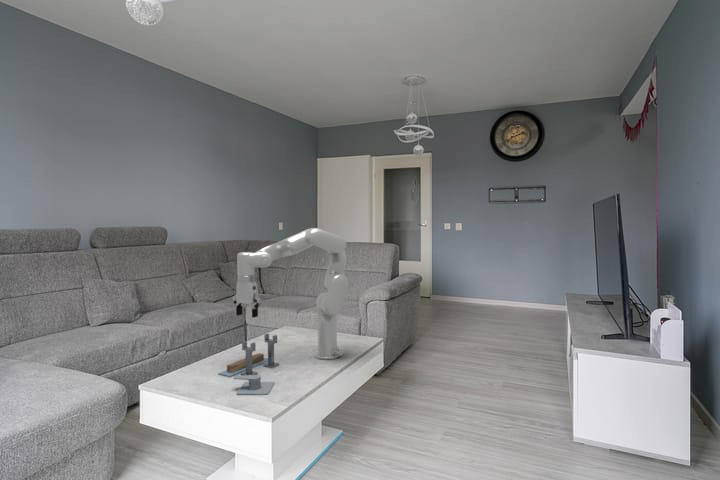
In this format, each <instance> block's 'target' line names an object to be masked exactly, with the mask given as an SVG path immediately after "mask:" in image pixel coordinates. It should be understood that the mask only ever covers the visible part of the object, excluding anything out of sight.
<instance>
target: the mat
mask: <svg viewBox="0 0 720 480" xmlns="http://www.w3.org/2000/svg"><path fill="white" fill-rule="evenodd" d="M266 363H268V357H267V358H266V357H264V360H263V361H261V362H258V363H256V364H253V365H252V369H254V368H256V367H258V366H261V365H263V364H266ZM244 372H246V368H243V369H241V370H238V371H236V372H234V373H229V372H227V369H225V370H222V371H221V372H218V375H219V376H221V377H227V378H233V377H235V376H238V374H239V375H240V374H241V373H244Z"/></svg>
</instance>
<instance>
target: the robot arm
mask: <svg viewBox="0 0 720 480" xmlns="http://www.w3.org/2000/svg"><path fill="white" fill-rule="evenodd" d="M313 246H314V247H317V248H320V249H322V250H325V251H326V252H327V254H328V255H329V262H328V266H327V269H326V272H325V276H324V279H323V280H324V281H323V285H324V287H325V288H326V289H327V292H322V293H321V294H319V295H318V296H317V298H316V305H315V306H316V312H317V314H316V315H317V316H316V317H317V351H316V352H315V353H314V357H315V358H316V359H318V360H319V359H320V360H334V359H337V358H339V357H340V356H343V354H344V350H341V349H340V347H339V346H338V328H337V327H338V320H337V315H338V314H340V312H341V311H343V310H342V309H343V306H344V304H345V301H346V297H347V293H348V290H349V278H347V276H346V275H345V272H346V271H345V270H346V267H347V266H346V265H347V254H346V249H347V242H346V240H345V239H344V238H343V237H342V236H340V235H337V234H335V233H332V232H329V231H327V230H323V229H321V228H319V227H318V228H317V227H310V228H308V229H305V230H303V231H300V232H298V233H296V234H293V235H291V236H289V237H286V238H284V239H282V240H280V241H277V242H276V243H275V242H274V243H273V244H269V245H268V246H265V247H263V248H261V249H259V250H257V251H255V252H251V251H243V252H238V253H237V256H236V260H237V261H236V264H237V266H236V267H237V268H236V269H237V282H236V289H235V295H233V296H232V298H231V299H232V301H233V304H234V306H235V309H236V310H235V311H236V316H241V315H242V316H243V305H250V306H251V307H252V308H251V318H257V317H259V310H258V309H259V308H260V306H261V304H262V301H263V300H262V298H260V297H259V292H258V290H259V289H258V283H257V281H255V280H256V277H255V276H256V275H255V268H259V269H260V268H261V269H262V268H263V269H264V268H268V267H269V266H270V265H271V264H272V262H273V261H275V260H277V259H281V258H284V257H291V256H294V255H296V254H298V253H300V252H303V251H305V250H307V249H309V248H311V247H313Z"/></svg>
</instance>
